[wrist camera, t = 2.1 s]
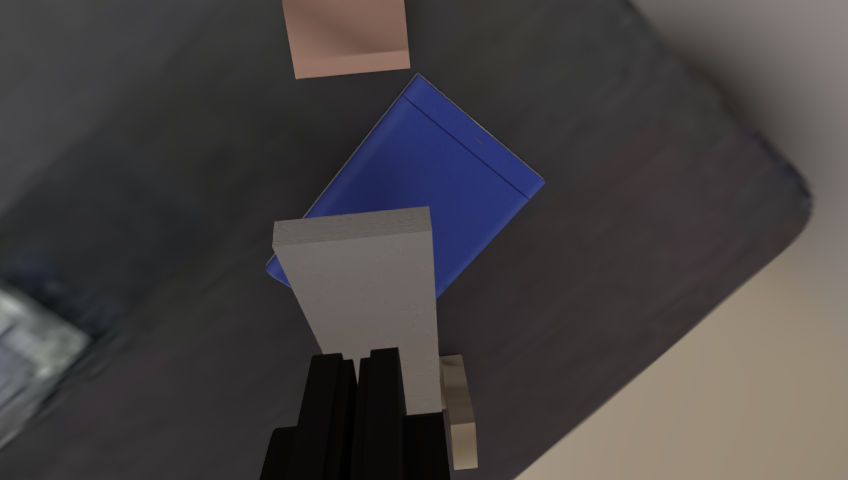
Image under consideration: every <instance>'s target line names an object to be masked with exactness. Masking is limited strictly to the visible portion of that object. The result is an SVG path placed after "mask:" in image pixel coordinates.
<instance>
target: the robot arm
mask: <svg viewBox="0 0 848 480" xmlns="http://www.w3.org/2000/svg"><path fill="white" fill-rule="evenodd" d="M260 480H450V473H449V464H448V455H447V446H446V437H445V428H444V419H443V412H434V413H424V414H414V415H407V409H406V401H405V393H404V386H403V378H402V370H401V362H400V354H399V348H398V347H393V348H382V349H372V350H371V351H370V357H367V358H361V359H360V366H359V378H358V384H357V378H356V372H355V367H354V362H353V359H347V360H344V359H343V355H342V353H332V354H321V355H314V356H312V359H311V364H310V368H309V373H308V378H307V382H306V387H305V392H304V396H303V401H302V406H301V410H300V415H299V420H298V424H297V426H294V427H284V428H276V429H275V430H274V431H273V433H272V436H271V439H270V442H269V446H268V450H267V453H266V457H265V461H264V465H263V468H262V472H261V476H260Z"/></svg>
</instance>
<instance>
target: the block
mask: <svg viewBox="0 0 848 480" xmlns="http://www.w3.org/2000/svg"><path fill="white" fill-rule="evenodd" d="M282 4H283V10H284V15H285V21H286V27H287V32H288V38H289V44H290V49H291V55H292V61H293V66H294V72H295V77H296V79H301V78H312V77H322V76H333V75H343V74H354V73H364V72H375V71H385V70H396V69H406V68H410V60H409V49H408V38H407V27H406V16H405V5H404V0H282Z"/></svg>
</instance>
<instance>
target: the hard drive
mask: <svg viewBox="0 0 848 480" xmlns="http://www.w3.org/2000/svg"><path fill="white" fill-rule="evenodd" d="M545 183H546V181H545V180H544V179H543V178H542V177H541V176H540V175H539V174H538V173H537V172H535V171H534V170H533V169H532V168H531V167H529V166H528V165H527V164H526V163H525V162H523V161H522V160H521V159H520V158H519V157H517V156H516V155H515V154H514V153H513V152H511V151H510V150H509V149H508V148H507V147H506V146H504V145H503V144H502V143H501V142H500V141H498V140H497V139H496V138H495V137H494V136H493V135H491V134H490V133H489V132H488V131H487V130H486V129H484V128H483V127H482V126H481V125H480V124H478V123H477V122H476V121H475V120H474V119H472V118H471V117H470V116H469V115H468V114H466V113H465V112H464V111H463V110H462V109H461V108H459V107H458V106H457V105H456V104H455V103H454V102H452V101H451V100H450V99H449V98H448V97H446V96H445V95H444V94H443V93H442V92H441V91H439V90H438V89H437V88H436V87H435V86H434V85H432V84H431V83H430V82H429V81H428V80H427V79H425V78H424V77H423V76H422V75H421V74H420V73H418V72H417V73H416V74H415V75H414V77H413V78H412V79H411V81H410V82H409V83H408V84H407V86H406V87H405V88H404V89H403V91H402V92H401V93H400V94H399V96H398V97H397V98H396V99H395V101H394V102H393V103H392V104H391V106H390V107H389V108H388V109H387V111H386V112H385V113H384V114H383V116H382V117H381V118H380V120H379V121H378V122H377V123H376V125H375V126H374V127H373V128H372V130H371V131H370V132H369V134H368V135H367V136H366V137H365V139H364V140H363V141H362V142H361V144H360V145H359V146H358V148H357V149H356V150H355V151H354V153H353V154H352V155H351V157H350V158H349V159H348V160H347V162H346V163H345V164H344V165H343V167H342V168H341V169H340V170H339V172H338V173H337V174H336V176H335V177H334V178H333V179H332V181H331V182H330V183H329V184H328V186H327V187H326V188H325V190H324V191H323V192H322V193H321V195H320V196H319V197H318V199H317V200H316V201H315V202H314V204H313V205H312V206H311V208H310V209H309V210H308V211H307V213H306V214H305V215H304V216H303V218H302V219H305V218H315V217H325V216H335V215H345V214H355V213H365V212H375V211H385V210H395V209H405V208H415V207H425V206H429V211H430V219H431V226H432V239H433V258H434V277H435V296H436V299H437V298H438V297H439V296H440V295H441V294H442V293H443V292H444V291H445V290H446V288H447V287H449V286H450V284H451V283H452V282H453V281H454V280H455V279H456V278H457V277H458V276H459V275H460V274H461V272H462V271H463V270H464V269H465V268H466V267H467V266H468V265H469V264H470V263H471V262H472V261H473V260H474V259H475V258H476V257H477V255H478V254H479V253H480V252H481V251H482V250H483V249H484V248H485V247H486V246H487V245H488V244H489V243H490V242H491V241H492V239H493V238H494V237H495V236H496V235H497V234H498V233H499V232H500V231H501V230H502V229H503V228H504V227H505V226H506V224H507V223H508V222H509V221H510V220H511V219H512V218H513V217H514V216H515V215H516V214H517V212H518V211H519V210H520V209H521V208H522V207H523V206H524V205H525V204H526V203H527V202H528V201H529V199H531V198H532V197H533V196H534V194H535V193H536V192H537V191H538V190H539V189H540V188H541V187H542V186H543V185H544V184H545ZM265 270H266V271H267V272H268V273H269V274H270V275H271V276H272V277H274V278H275V279H277V280H279V281H280V282H282V283H284V284H285V285H287V286H288V287H290V288H291V289H292V287H291V285H290V283H289V281H288V279H287V277H286V275H285V273H284V270H283V268H282V266H281V264H280V262H279V260H278V258H277V256H276V254H275V253H274V255H273V256H272V257H271V258H270V260H269V261H268V262H267V265H266V267H265Z"/></svg>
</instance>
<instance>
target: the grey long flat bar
mask: <svg viewBox="0 0 848 480" xmlns="http://www.w3.org/2000/svg"><path fill="white" fill-rule="evenodd" d="M272 247H273V250H274V252H275V254H276V256H277V258H278V260H279V262H280V264H281V266H282V268H283V270H284V273H285V275H286V277H287V279H288V281H289V283H290V285H291V287H292V289H293V291H294V293H295V296H296V298H297V300H298V302H299V304H300V306H301V308H302V310H303V312H304V314H305V317H306V319H307V321H308V323H309V325H310V327H311V329H312V331H313V333H314V335H315V337H316V340H317V342H318V344H319V346H320V348H321V350H322V352H323V354H332V353H342V355H343V359H344V360H347V359H353V362H354V367H355V372H356V378H357V384H358V378H359V366H360V359H361V358H367V357H370V351H371V350H372V349H382V348H393V347H398V348H399V354H400V362H401V370H402V378H403V386H404V393H405V401H406V409H407V415H414V414H424V413H434V412H442V410H441V391H440V372H439V353H438V334H437V315H436V296H435V277H434V258H433V239H432V226H431V219H430V211H429V206H425V207H415V208H405V209H395V210H385V211H375V212H365V213H355V214H345V215H335V216H325V217H315V218H305V219H295V220H285V221H275V222H274V232H273V244H272Z"/></svg>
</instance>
